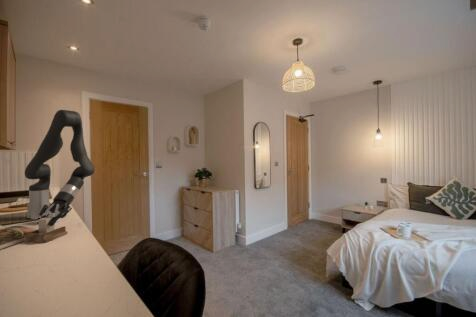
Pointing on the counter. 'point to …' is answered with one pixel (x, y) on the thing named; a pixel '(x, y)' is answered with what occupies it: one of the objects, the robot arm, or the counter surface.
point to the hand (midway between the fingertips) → (44, 225)
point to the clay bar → (45, 225)
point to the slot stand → (45, 235)
